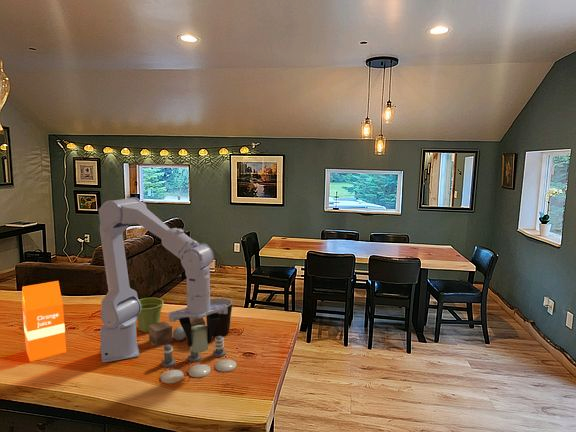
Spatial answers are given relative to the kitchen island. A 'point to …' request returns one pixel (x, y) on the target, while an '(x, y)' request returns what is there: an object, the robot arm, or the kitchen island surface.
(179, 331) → the grey ball
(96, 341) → the kitchen island surface
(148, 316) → the plant pot
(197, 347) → the pale green rounded cylinder
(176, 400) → the kitchen island surface
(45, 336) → the orange juice
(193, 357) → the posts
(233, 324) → the kitchen island surface
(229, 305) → the coffee mug
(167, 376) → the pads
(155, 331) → the walnut block
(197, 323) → the walnut block
